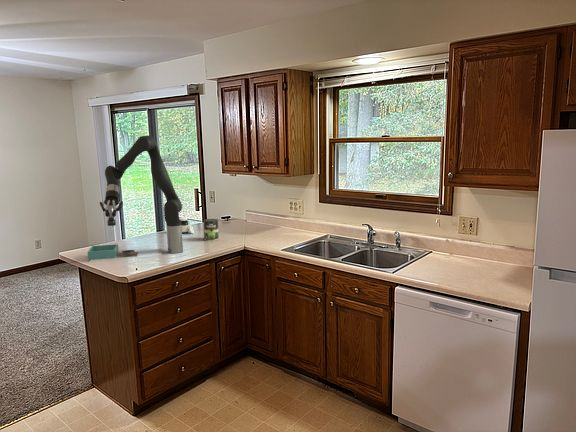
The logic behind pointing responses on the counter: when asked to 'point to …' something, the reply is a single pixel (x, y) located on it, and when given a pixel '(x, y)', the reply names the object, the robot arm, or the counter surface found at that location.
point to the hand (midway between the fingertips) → (110, 216)
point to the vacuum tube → (111, 216)
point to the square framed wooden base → (127, 253)
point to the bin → (103, 252)
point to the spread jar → (186, 226)
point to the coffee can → (211, 229)
